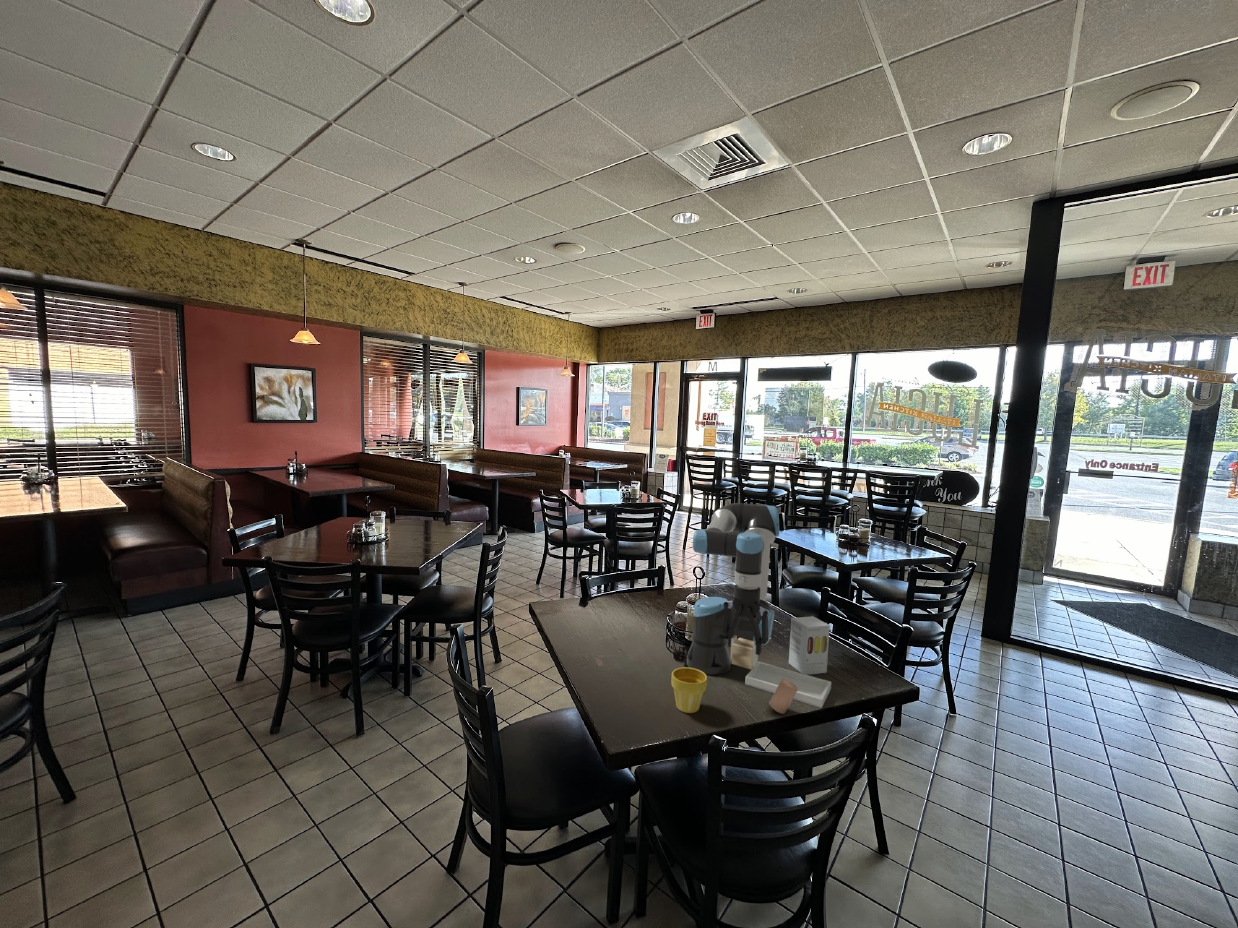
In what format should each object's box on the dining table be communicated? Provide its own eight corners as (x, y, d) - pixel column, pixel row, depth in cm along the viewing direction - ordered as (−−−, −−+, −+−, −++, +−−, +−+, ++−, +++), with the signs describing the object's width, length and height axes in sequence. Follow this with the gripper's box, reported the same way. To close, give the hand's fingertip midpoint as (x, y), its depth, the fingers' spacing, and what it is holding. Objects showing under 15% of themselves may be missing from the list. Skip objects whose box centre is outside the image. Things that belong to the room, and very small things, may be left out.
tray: (744, 684, 164) (745, 676, 163) (758, 668, 175) (758, 661, 175) (821, 708, 151) (822, 699, 150) (830, 689, 162) (831, 681, 162)
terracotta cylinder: (768, 706, 147) (781, 684, 146) (769, 698, 152) (781, 676, 150) (785, 716, 146) (797, 693, 144) (785, 707, 150) (797, 685, 149)
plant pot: (701, 697, 155) (703, 666, 154) (709, 716, 144) (710, 683, 144) (668, 697, 154) (669, 666, 154) (673, 716, 144) (674, 683, 143)
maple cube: (731, 663, 152) (732, 644, 152) (738, 656, 157) (739, 637, 157) (751, 669, 149) (752, 649, 148) (757, 661, 154) (758, 642, 153)
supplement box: (803, 675, 171) (806, 627, 170) (787, 663, 180) (790, 617, 179) (827, 672, 174) (830, 624, 172) (810, 660, 182) (813, 615, 181)
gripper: (712, 582, 153) (709, 656, 154) (775, 595, 142) (771, 674, 144) (722, 576, 159) (719, 648, 161) (783, 588, 148) (779, 664, 150)
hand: (743, 660), depth 152 cm, fingers closed on maple cube, 6 cm apart
